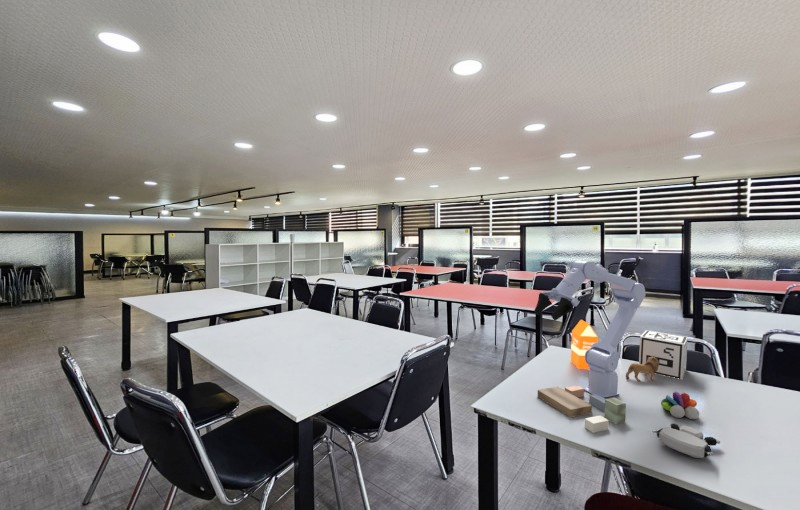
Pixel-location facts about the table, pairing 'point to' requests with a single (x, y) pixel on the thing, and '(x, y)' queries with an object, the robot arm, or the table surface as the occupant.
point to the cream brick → (596, 424)
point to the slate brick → (597, 401)
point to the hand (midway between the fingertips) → (544, 315)
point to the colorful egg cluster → (680, 405)
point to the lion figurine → (644, 368)
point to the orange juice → (582, 343)
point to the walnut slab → (565, 401)
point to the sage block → (615, 410)
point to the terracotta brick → (575, 391)
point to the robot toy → (687, 440)
